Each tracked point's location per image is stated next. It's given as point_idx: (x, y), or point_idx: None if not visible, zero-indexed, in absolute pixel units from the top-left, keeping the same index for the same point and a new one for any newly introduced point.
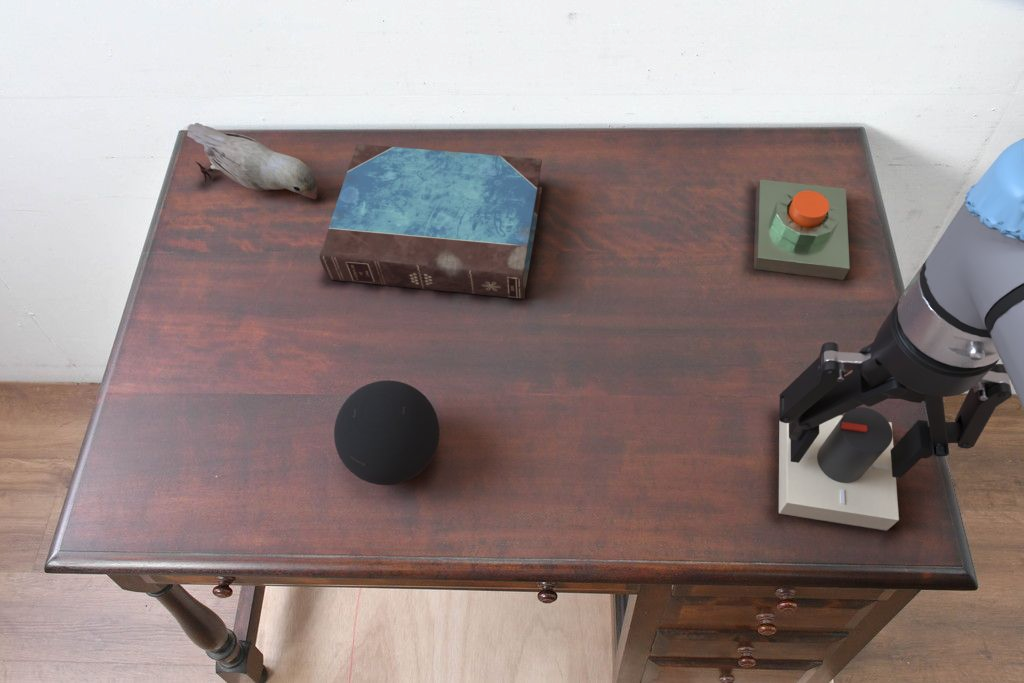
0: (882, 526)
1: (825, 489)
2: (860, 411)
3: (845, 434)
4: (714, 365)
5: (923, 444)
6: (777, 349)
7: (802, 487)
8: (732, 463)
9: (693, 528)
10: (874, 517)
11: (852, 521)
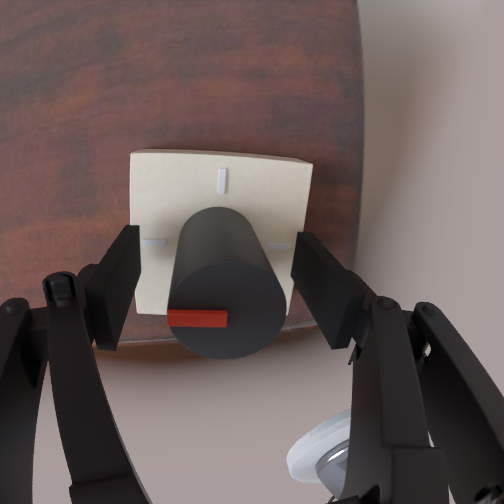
0: None
1: None
2: (217, 274)
3: (178, 332)
4: (55, 74)
5: (339, 342)
6: (152, 23)
7: (157, 290)
8: (81, 230)
9: None
10: None
11: None
